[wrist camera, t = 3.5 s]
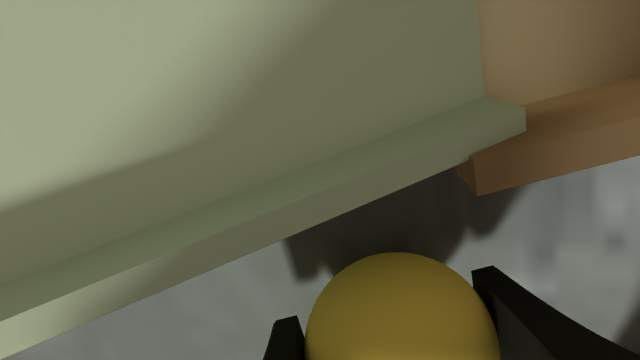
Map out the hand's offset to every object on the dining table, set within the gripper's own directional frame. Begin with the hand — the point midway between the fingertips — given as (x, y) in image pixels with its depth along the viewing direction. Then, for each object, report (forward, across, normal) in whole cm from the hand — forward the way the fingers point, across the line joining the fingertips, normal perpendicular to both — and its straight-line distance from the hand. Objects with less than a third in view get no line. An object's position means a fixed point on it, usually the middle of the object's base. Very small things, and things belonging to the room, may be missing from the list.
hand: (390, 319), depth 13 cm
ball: (-1, 0, 0) cm, 1 cm away
